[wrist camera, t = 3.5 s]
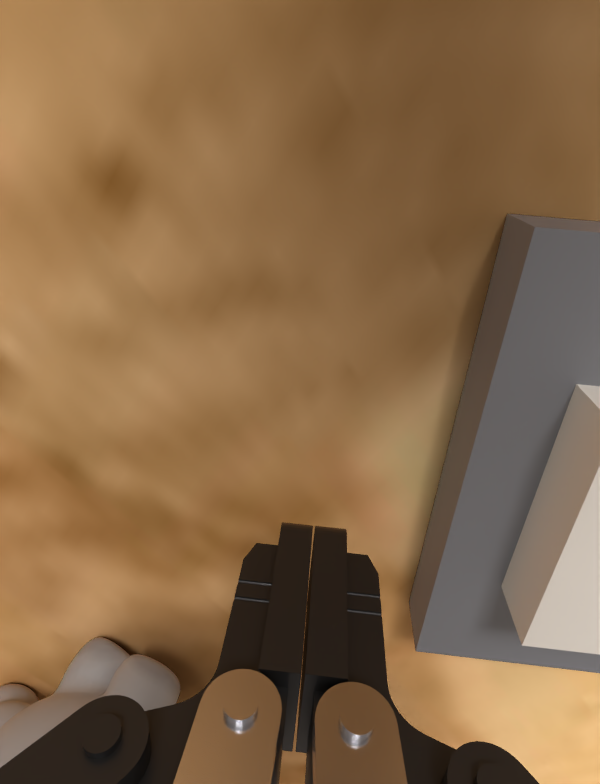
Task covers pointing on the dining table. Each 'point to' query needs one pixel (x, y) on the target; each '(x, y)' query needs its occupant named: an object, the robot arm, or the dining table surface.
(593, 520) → the cream tile
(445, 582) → the plate
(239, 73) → the dining table surface
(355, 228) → the dining table surface
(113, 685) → the chubby cartoon animal
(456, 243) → the dining table surface
